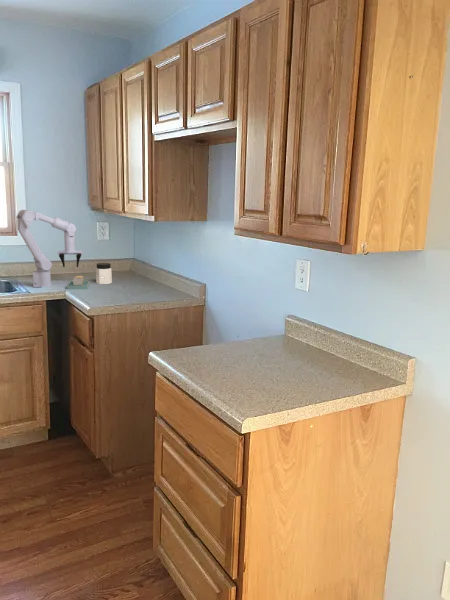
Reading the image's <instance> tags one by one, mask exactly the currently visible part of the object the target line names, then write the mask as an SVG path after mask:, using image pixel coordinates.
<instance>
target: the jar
mask: <svg viewBox="0 0 450 600" xmlns="http://www.w3.org/2000/svg"><path fill="white" fill-rule="evenodd" d="M111 265H112V264H111V263H110V262H98V263H96V267H95V279H96V284H99V285H109V284H112V282H113V279H112V277H113V275H112V274H113V272H112V267H111Z"/></svg>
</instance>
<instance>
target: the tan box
mask: <svg viewBox="0 0 450 600" xmlns="http://www.w3.org/2000/svg"><path fill="white" fill-rule="evenodd" d="M80 277H82V285H83V281H84V275H76V276H75V277H74V278H80Z"/></svg>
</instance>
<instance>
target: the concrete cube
mask: <svg viewBox="0 0 450 600" xmlns="http://www.w3.org/2000/svg"><path fill="white" fill-rule="evenodd" d="M72 281H73V286H83V285H82V277H80V278H75V277H73V278H72Z"/></svg>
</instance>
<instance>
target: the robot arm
mask: <svg viewBox="0 0 450 600" xmlns="http://www.w3.org/2000/svg"><path fill="white" fill-rule="evenodd" d="M16 220H17V231H18V233H19V235H20V236H21V238H22V239H23V242H24V243H25V244H26V247H27V249H28V250H29V251H30V253H31V254H32V257H33V261H34V265H35V267H36V268H37V269H36V270H33V272H32V281H33V282H32V283H33V288H43V287H52V285H53V283H52V277H51V275H52V274H51V269H52V265H53V264H52V262H51V261H50V260H49V259H47V257H46V255H45V254H43V252H42V249H41V248H40V247H39V245H38V243H37V242H36V239H35V238H34V236H33V234H32V233H31V231H30V225H31V224H32V223H33V222H34V221H37V220H39V221H41V222H45V223H47V224H50V225H51V227H52V228H54V229H57V230H58V231H59V230H60V231H61V232H62V231H63V232H64V233H63V235H64V236H63V237H64V250H57V251H56V255H57V256H58V258H59V259H60V261H61V263H62V267H63V268H65V267H66V266H65V265H66V264H65V255H76V256H75V257H76V268H78V267H79V263H80V260H81V257H82V255H84V251H83V250H76V241H75V240H76V239H75V232H76V231H77V227H76V225H75V224H74V223H72V222H69V221H68V220H64V219H61V217H59V216H58V217H54V218H52V217H50V216H47V215H45V214H43V213H40V212H37V211H33V210H28V209H21V210H19V211H18V213H17V215H16Z"/></svg>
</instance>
